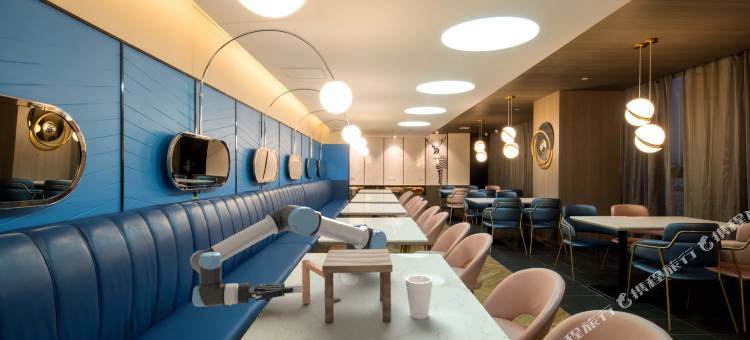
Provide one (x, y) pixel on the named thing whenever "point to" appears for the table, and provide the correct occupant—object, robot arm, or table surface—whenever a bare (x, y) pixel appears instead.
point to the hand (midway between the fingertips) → (301, 288)
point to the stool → (358, 264)
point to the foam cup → (419, 295)
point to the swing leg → (308, 278)
